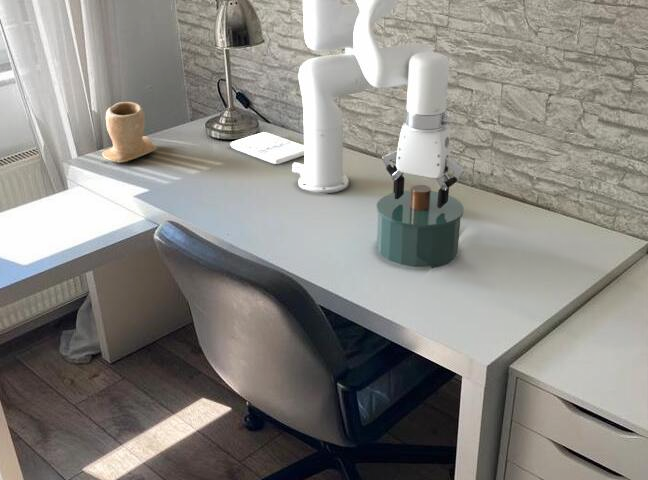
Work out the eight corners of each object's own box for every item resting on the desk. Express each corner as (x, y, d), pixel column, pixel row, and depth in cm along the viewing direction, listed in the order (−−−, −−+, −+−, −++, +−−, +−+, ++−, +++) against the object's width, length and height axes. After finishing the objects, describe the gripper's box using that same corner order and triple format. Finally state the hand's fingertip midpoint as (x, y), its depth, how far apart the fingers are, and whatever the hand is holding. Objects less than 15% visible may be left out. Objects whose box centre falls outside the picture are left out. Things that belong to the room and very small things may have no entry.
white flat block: (264, 136, 233) (264, 130, 232) (312, 153, 220) (312, 146, 219) (229, 147, 225) (228, 141, 224) (276, 165, 212) (275, 158, 211)
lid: (361, 219, 161) (362, 195, 158) (397, 189, 174) (398, 167, 172) (444, 237, 153) (446, 212, 151) (475, 204, 167) (477, 181, 164)
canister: (363, 258, 166) (365, 216, 161) (396, 227, 178) (398, 187, 174) (439, 276, 159) (443, 233, 154) (468, 242, 171) (472, 202, 166)
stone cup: (123, 169, 211) (115, 114, 203) (97, 159, 218) (88, 105, 210) (168, 154, 220) (162, 101, 213) (141, 145, 227) (135, 93, 220)
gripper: (474, 120, 153) (466, 202, 162) (392, 107, 161) (388, 187, 169) (461, 131, 148) (453, 216, 156) (376, 118, 155) (373, 199, 164)
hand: (420, 201), depth 163 cm, fingers open, 9 cm apart
